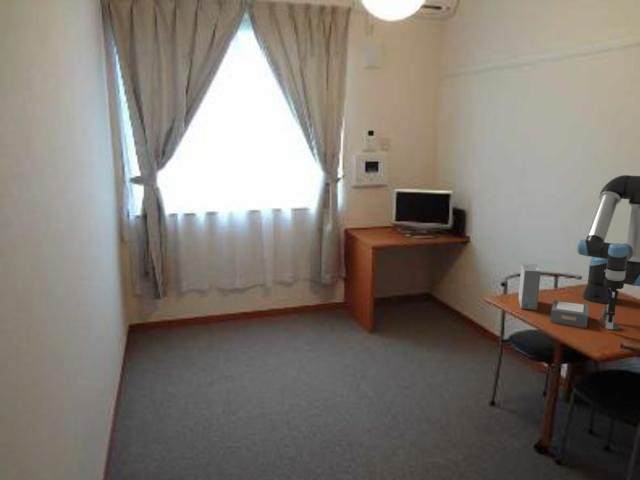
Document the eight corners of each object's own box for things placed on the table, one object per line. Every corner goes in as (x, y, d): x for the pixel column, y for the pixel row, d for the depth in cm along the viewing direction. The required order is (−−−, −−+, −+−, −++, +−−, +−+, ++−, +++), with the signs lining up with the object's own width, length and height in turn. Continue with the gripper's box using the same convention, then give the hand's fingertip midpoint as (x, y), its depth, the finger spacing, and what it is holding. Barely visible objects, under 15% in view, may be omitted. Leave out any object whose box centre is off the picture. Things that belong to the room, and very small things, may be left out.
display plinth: (587, 316, 240) (588, 304, 238) (586, 328, 227) (587, 314, 225) (552, 311, 247) (554, 299, 246) (550, 322, 234) (551, 309, 233)
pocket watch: (622, 331, 224) (625, 309, 221) (601, 329, 225) (604, 308, 223) (615, 323, 231) (618, 303, 229) (595, 322, 233) (598, 302, 231)
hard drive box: (537, 310, 249) (541, 271, 244) (520, 309, 251) (524, 270, 246) (533, 300, 263) (536, 263, 259) (517, 298, 265) (520, 262, 261)
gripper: (604, 270, 236) (599, 313, 240) (605, 285, 214) (599, 331, 219) (623, 272, 232) (617, 315, 237) (625, 287, 211) (619, 334, 215)
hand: (608, 323), depth 228 cm, fingers open, 13 cm apart
